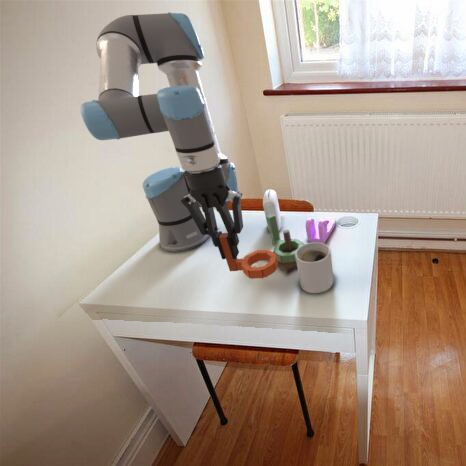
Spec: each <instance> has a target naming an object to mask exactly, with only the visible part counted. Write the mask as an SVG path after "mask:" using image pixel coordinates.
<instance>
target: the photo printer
mask: <svg viewBox="0 0 466 466" xmlns="http://www.w3.org/2000/svg"><path fill="white" fill-rule="evenodd" d="M262 197H263V198H262V207H263V212H264V215H265V216H264V217H266V216H267V215H269V214H273V215H275V217H276V222H277V226H278V231H280V230H281V227H282V215H281V214H282V213H281V209H280V205H279V204H280V203H279V199H278V195H277V192H276V191H275V190H274V189H267V190H265V192H264V194H263V196H262ZM265 220H266V222H267V219H266V218H265ZM266 224H267V223H266ZM267 226H268V224H267ZM267 230H269V228H268V227H267Z"/></svg>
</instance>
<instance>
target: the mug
mask: <svg viewBox="0 0 466 466" xmlns="http://www.w3.org/2000/svg"><path fill="white" fill-rule="evenodd" d="M295 257H296V263H297V268H296V269H297V273H298V279H299V283H300V284H299V285H300V287H301V289H302V290H303V291H304V292H307V293H309V294H321V293H324V292H326V291H328V290H329V289H330V288H331V287H332V286H333V285H334V280H335V279H334V272H333V262H332V253H331V248H330V246H329V245H328V244H325V243H319V242H307V243H305V244H304V245H302V246H301V247H299V248H298V249H297V251H296V253H295Z"/></svg>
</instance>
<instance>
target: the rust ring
mask: <svg viewBox="0 0 466 466" xmlns="http://www.w3.org/2000/svg"><path fill="white" fill-rule="evenodd" d="M227 235H228V232H222V233H221V235H220V236H219V240H220V243H221V246H222V249H223V252H224V255H225V258H226V259H225V260H226V261H225V262H226V264H227V267H228V270H229V272H238V271H242V273H243V274H244V275H245V276H246V277H247V278H249V279H251V280H257V279H264V278H268V277H269V276H271V275H272V274H274V273H276V272H277V269H278V260H277V256H276V254H275V253H273V252H274V251H271V250H270V249H257V250H254V251H252V252H250V253H248V254H246V255H245V256H244V257H243V258H238V257H237V258H236V259H233V257H232V254H231V251H230V248H229V245H228V242H227V239H226V236H227ZM258 262H267V263H265V264H264V265H261V266H253V265H254V264H257V263H258Z"/></svg>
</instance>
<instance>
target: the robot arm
mask: <svg viewBox="0 0 466 466" xmlns="http://www.w3.org/2000/svg"><path fill="white" fill-rule="evenodd" d="M95 48H96V53H97V57H99V59H100V67H99V82H98V83H99V84H98V85H99V86H98V100H95V99H93V100H91V101H86V102H83V103H81V105H80V114H81V118H82V120H83V122H84V125H85V128H86V129H87V130H88V132H89V133H90V134H91V136H92V138H95V140H99V141H110V140H117V141H118V140H120V139H126V138H132V137H139V136H144V135H150V134H157V133H158V134H159V133H164V132H168V133H169V135H170V138H171V140H172V144H173V146H174V150H175V152H176V156H177V158H178V161H179V164H180V166H181V167H179V166H175V167H174V166H173V167H166V168H164V169H161V170H158V171H155V172H154V173H151V174H150V175H149V176H147V177H146V178H145V179H143V182H142V188H143V189H142V190H143V191H144V195H145V198H146V199H147V201H148V203H149V206H150V208H151V210H152V212H153V214H154V217H155V219H156V222H157V223H158V232H159V233H158V234H159V235H158V236H159V237H158V238H159V244H160V246H161V248H162V249H163V250H164V251H167V252H172V253H174V252H175V253H178V252H185V251H189V250H191V249H194V248H196V247H198V246H199V247H200V245H202V244H203V243H205V242H206V241H207V240H209V238H211V241H212V243H213V246H214V247H215V248H217V249H218V252H219V254H220V258H221V259H222V260H226V258H225V255H224V252H223V249H222V246H221V243H220V240H219V236H220V235H221V233H223V231H221V230H220V231H219V229H220V227H218V223H217V219H216V215H215V210H216V212H217V213H218V214H219V216H220V218H221V221H222V223H223V225H224V228H225V230H226V233H228V235H227V236H226V239H227V242H228V245H229V248H230V251H231V254H232V257H233V259H236V258H237V259H238V256H239V253H240V250H239V248H238V246H239V243H240V240H239V236H238V235H239V234H241V232H242V230H243V228H244V220H243V212H242V202H241V201H242V198H243V192H241V191H239V187H238V186H239V185H238V179H237V172H236V166H235V163H234V162H229V157H228V156H225V155H224V154H223V153H222V151H221V148H220V144H219V141H218V138H217V134H216V130H215V127H214V124H213V120H212V117H211V113H210V110H209V106H208V101H207V99H206V95H205V92H204V88H203V85H202V81H201V78H200V75H199V71H200V69H201V68H202V62H201V61H202V60H204V59H205V54H204V51H203V47H202V45H201V42H200V39H199V37H198V34H197V32H196V29H195V27H194V25H193V23H192V20H191V18H190V17H189V16H188V15H187V14H185V13H183V12H177V13H176V12H165V13H149V14H147V13H146V14H127V15H123V16H119V17H117V18H115V19H114V20H112V21H110V22H109V23H108V24H107V25H105V27H103V28H102V30H101V31H100V32H99V33H98V36H97V39H96V45H95ZM146 64H150V65H151V64H156V65H157V68H158V70H159V71H160V72H162V73H163V74H164V75H166V78H167V82H168V84H169V86H168V87H164V88H160V89H158V91H157V92H156V93H151V94H144V95H142V94H140V93H141V91H140V79H139V77H140V76H139V68H140V66H141V65H146ZM229 201H230V203H231V208H232V214H231V211H230V209H229V207H228V202H229ZM214 208H215V210H214ZM203 213H204V214H203Z"/></svg>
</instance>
